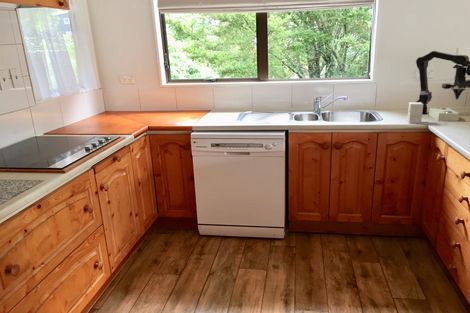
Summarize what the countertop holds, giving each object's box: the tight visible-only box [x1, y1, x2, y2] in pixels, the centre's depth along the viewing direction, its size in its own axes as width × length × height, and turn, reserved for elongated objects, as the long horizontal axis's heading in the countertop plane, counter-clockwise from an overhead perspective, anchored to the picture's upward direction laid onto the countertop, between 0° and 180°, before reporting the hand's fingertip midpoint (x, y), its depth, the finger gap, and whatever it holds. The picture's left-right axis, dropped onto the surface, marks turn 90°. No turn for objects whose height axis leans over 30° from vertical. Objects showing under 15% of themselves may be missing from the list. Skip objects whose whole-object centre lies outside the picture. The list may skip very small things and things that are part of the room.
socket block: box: [428, 107, 460, 122], centre depth 246 cm, size 12×20×5 cm, turn 169°
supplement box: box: [406, 101, 423, 124], centre depth 235 cm, size 7×7×13 cm
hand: (456, 99), depth 243 cm, fingers closed
